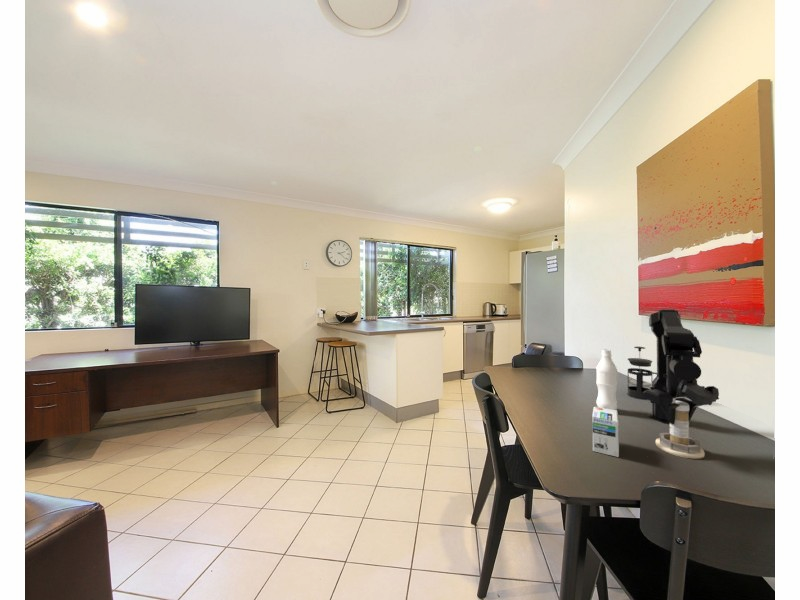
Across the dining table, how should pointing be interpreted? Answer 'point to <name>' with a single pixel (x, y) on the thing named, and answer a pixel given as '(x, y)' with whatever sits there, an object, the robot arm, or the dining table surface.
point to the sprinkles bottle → (680, 424)
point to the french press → (639, 376)
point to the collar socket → (680, 447)
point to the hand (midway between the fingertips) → (679, 423)
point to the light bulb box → (605, 431)
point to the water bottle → (606, 381)
